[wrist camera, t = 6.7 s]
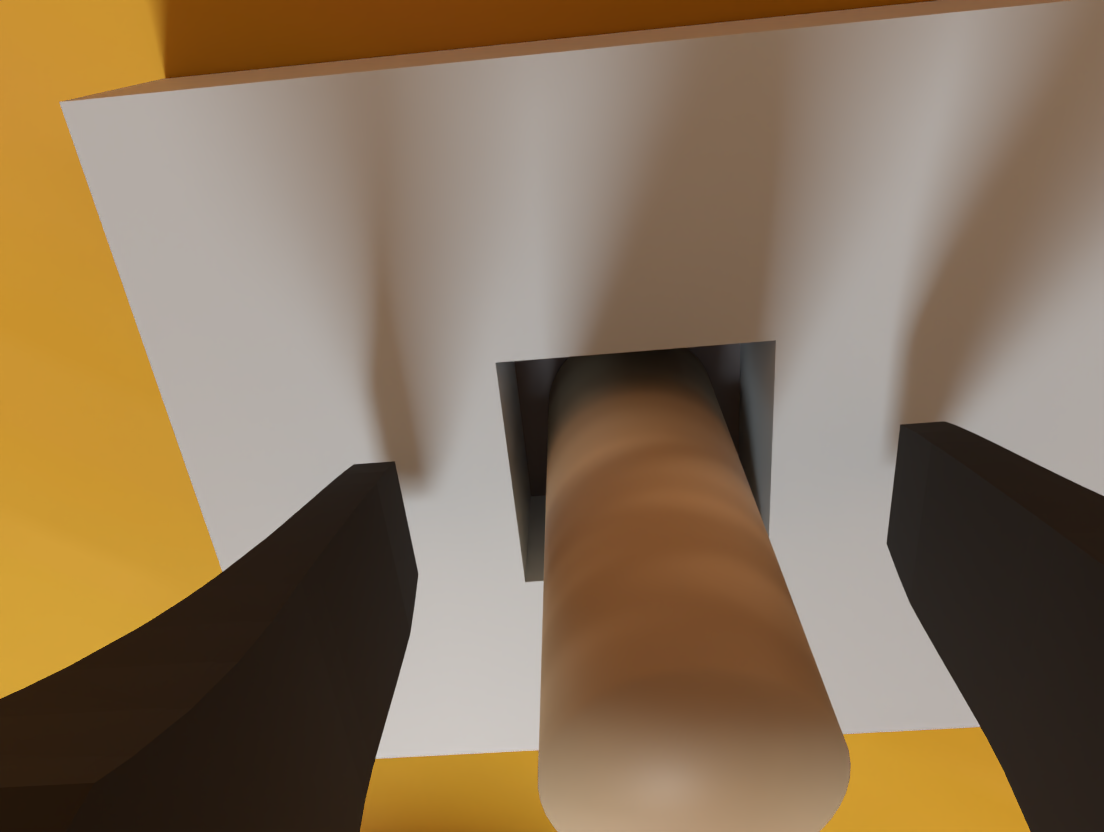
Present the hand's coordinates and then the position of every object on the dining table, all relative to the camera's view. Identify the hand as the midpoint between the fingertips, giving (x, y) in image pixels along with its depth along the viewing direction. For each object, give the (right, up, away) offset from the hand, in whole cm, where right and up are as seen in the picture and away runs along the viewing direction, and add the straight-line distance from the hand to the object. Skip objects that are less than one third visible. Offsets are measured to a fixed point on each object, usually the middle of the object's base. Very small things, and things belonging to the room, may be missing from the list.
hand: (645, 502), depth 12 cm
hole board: (+1, +2, +3) cm, 4 cm away
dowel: (0, +1, +3) cm, 4 cm away
